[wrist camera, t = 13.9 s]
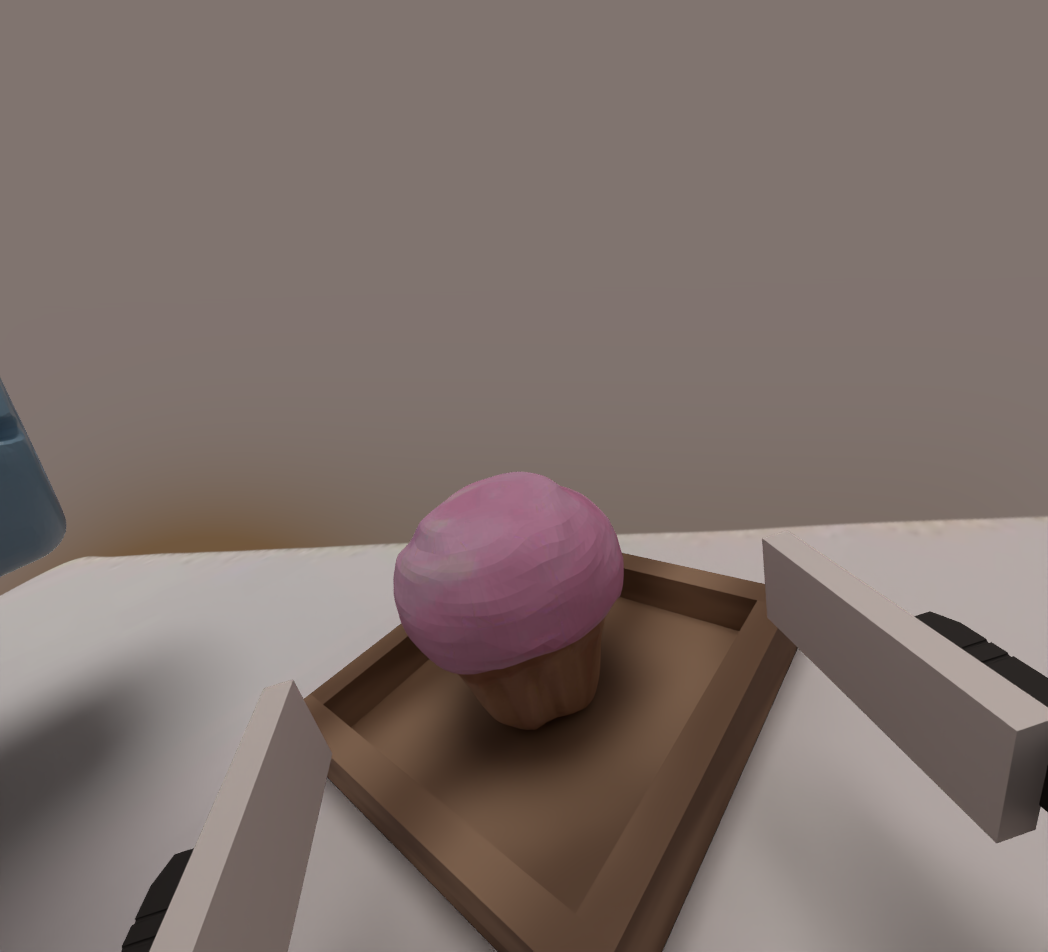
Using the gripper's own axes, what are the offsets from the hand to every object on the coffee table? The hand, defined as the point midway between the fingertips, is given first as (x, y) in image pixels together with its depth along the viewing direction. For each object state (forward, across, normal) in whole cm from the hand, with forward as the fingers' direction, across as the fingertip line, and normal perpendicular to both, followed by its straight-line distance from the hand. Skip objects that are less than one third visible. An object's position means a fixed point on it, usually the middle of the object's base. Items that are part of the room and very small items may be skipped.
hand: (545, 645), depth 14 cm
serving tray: (+6, 0, -9) cm, 11 cm away
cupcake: (+6, 0, -8) cm, 10 cm away
